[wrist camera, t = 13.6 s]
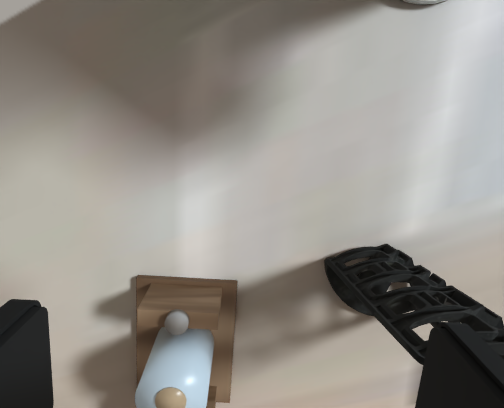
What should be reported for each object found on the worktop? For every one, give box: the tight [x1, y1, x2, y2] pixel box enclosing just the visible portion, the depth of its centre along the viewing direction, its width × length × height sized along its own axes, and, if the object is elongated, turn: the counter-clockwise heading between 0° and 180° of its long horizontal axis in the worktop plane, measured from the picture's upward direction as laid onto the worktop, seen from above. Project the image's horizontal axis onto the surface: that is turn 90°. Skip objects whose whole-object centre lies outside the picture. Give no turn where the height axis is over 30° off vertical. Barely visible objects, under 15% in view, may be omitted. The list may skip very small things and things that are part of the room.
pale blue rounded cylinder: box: [135, 327, 214, 408], centre depth 36 cm, size 6×6×8 cm
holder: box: [324, 244, 504, 365], centre depth 30 cm, size 11×8×20 cm
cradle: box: [136, 275, 237, 408], centre depth 38 cm, size 14×10×7 cm
